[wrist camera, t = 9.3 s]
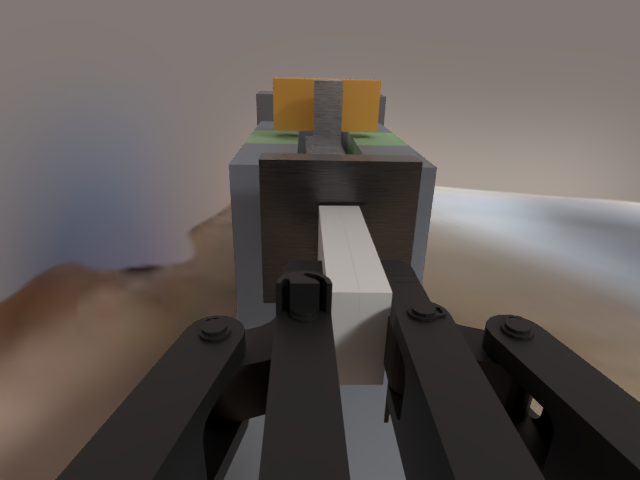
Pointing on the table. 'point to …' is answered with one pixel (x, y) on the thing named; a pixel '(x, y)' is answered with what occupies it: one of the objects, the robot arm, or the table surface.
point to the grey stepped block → (357, 400)
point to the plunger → (333, 193)
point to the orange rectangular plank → (298, 103)
